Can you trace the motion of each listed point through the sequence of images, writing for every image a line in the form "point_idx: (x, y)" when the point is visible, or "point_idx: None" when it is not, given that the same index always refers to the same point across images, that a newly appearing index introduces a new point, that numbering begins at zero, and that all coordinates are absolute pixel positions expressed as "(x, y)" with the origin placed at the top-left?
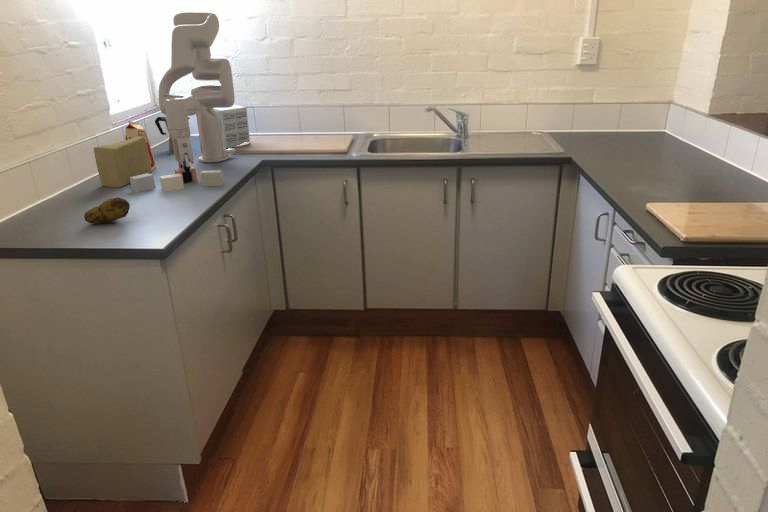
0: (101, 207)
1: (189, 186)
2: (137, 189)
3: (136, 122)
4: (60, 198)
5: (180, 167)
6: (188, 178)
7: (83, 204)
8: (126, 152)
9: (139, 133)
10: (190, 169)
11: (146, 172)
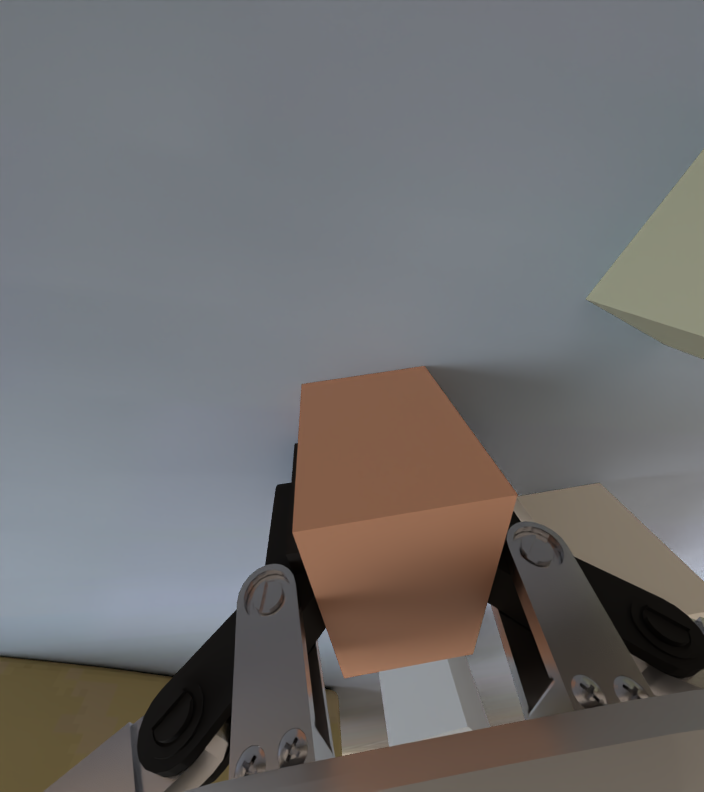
0: None
1: (572, 447)
2: (467, 661)
3: None
4: (379, 743)
5: (318, 651)
6: None
7: (491, 707)
8: None
9: None
10: (577, 565)
11: (53, 690)
